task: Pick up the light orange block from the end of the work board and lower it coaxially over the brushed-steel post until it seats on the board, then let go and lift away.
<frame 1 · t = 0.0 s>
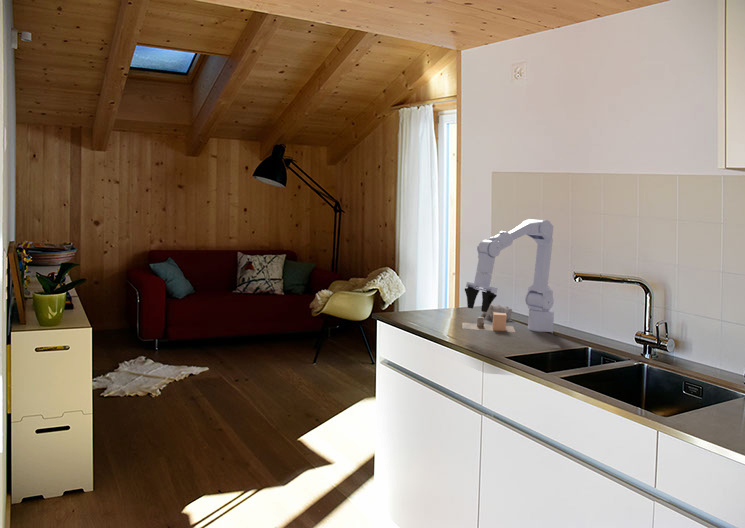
hand: (477, 309, 233), 11 cm above the counter, fingers open, 7 cm apart
board: (488, 329, 250), on the counter
stone: (495, 321, 271), on the counter
light orange block: (498, 329, 248), point 1 cm above the counter, touching board
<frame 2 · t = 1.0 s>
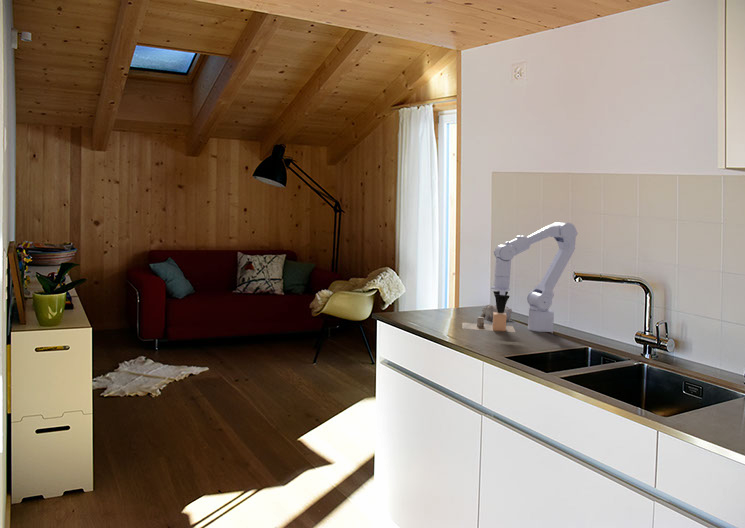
hand: (500, 311, 247), 8 cm above the counter, fingers open, 7 cm apart
nothing on the counter moved.
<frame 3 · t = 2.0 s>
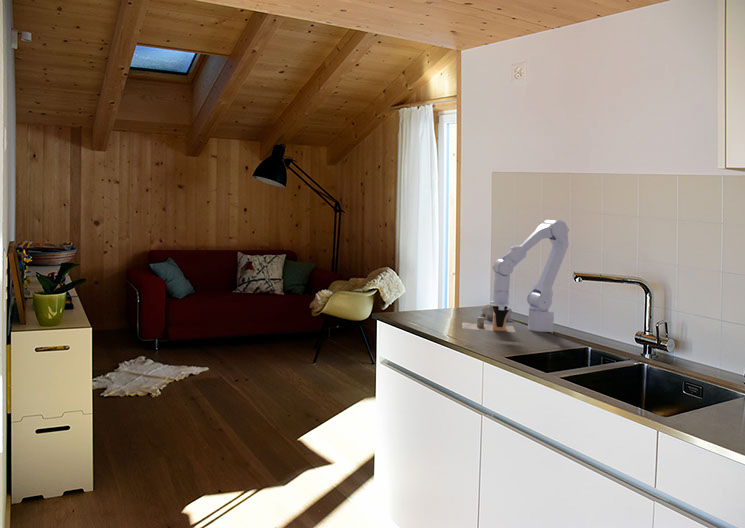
hand: (499, 325, 248), 2 cm above the counter, fingers closed on light orange block, 5 cm apart
light orange block: (498, 329, 248), point 1 cm above the counter, touching board, gripper
everything else where it was.
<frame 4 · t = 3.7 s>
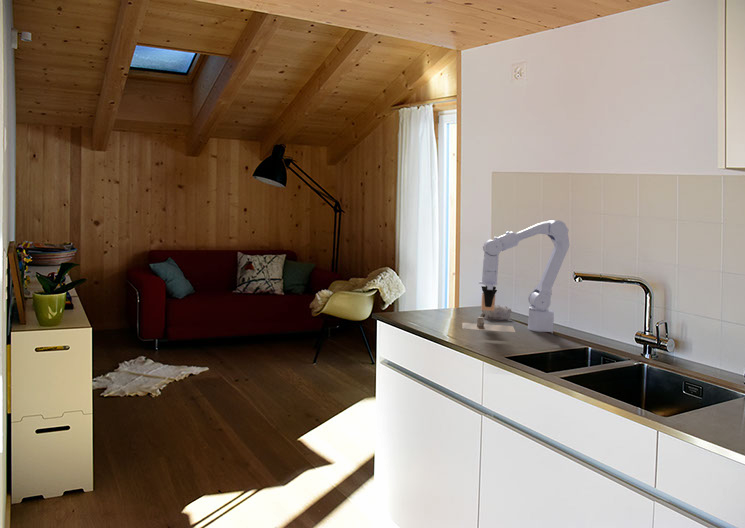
hand: (487, 305, 249), 10 cm above the counter, fingers closed on light orange block, 5 cm apart
light orange block: (487, 309, 249), point 8 cm above the counter, touching gripper
everything else where it was.
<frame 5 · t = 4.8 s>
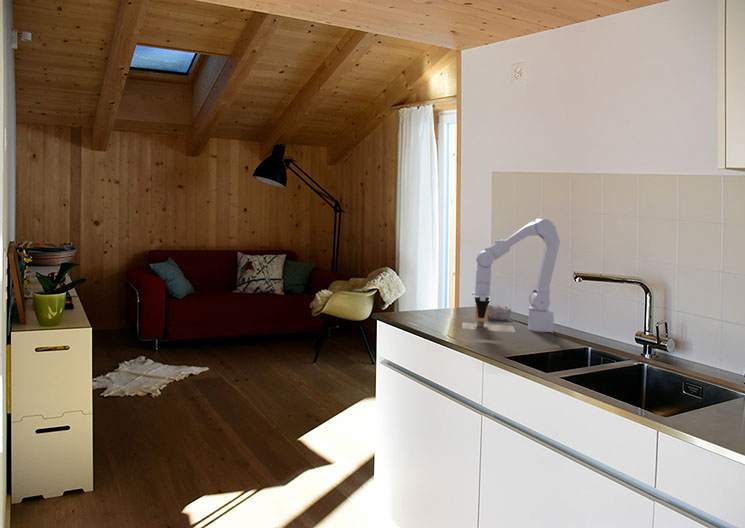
hand: (480, 316, 251), 5 cm above the counter, fingers closed on light orange block, 5 cm apart
light orange block: (480, 320, 251), point 3 cm above the counter, touching gripper
everything else where it was.
when the fingers open (3 cm above the counter, at t = 5.6 s): light orange block stays where it is, resting on board.
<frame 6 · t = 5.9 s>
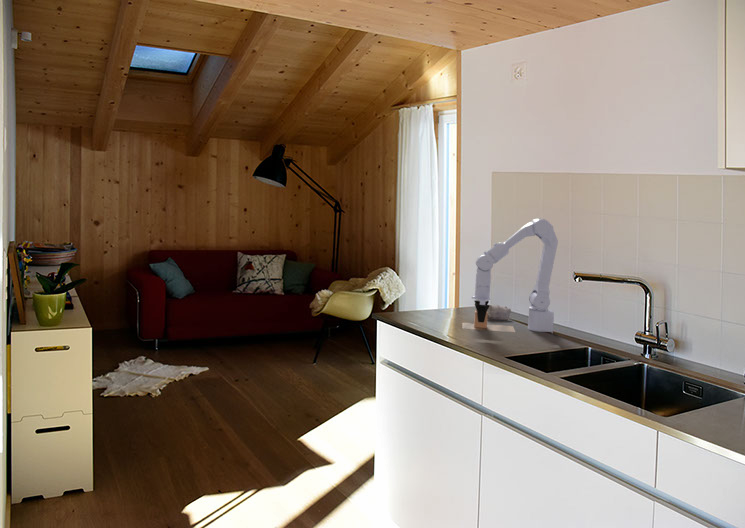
hand: (480, 320, 251), 3 cm above the counter, fingers open, 7 cm apart
light orange block: (480, 326, 252), point 1 cm above the counter, touching board
everything else where it was.
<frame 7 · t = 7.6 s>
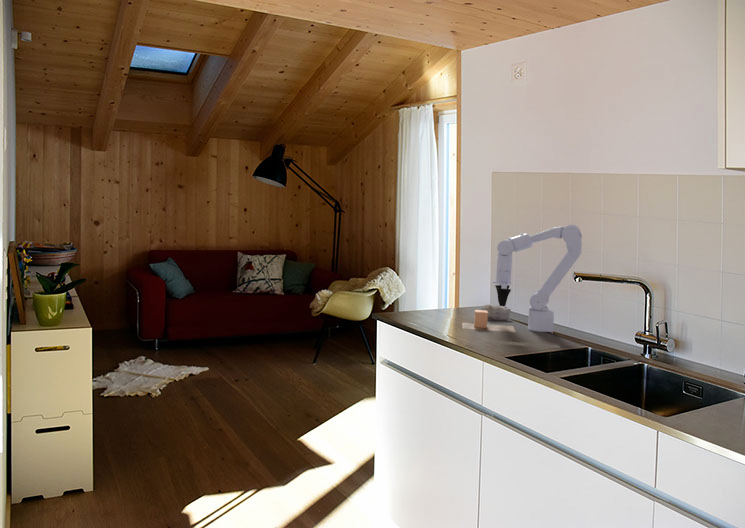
hand: (501, 304, 255), 9 cm above the counter, fingers open, 7 cm apart
nothing on the counter moved.
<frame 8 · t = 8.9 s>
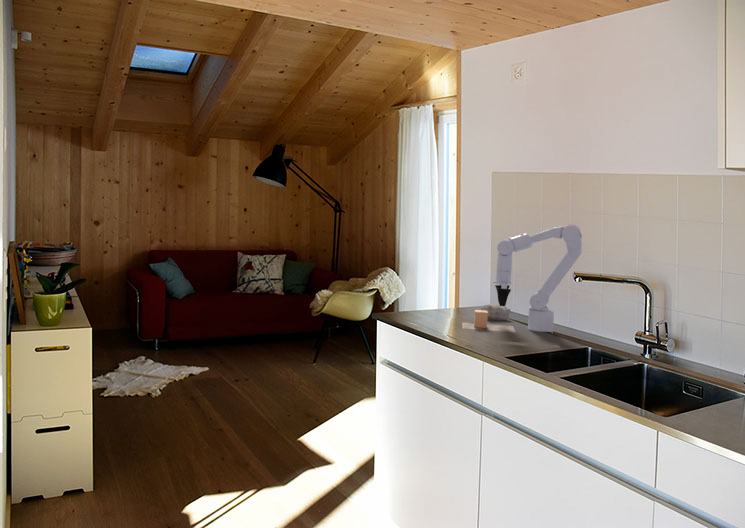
hand: (501, 304, 255), 9 cm above the counter, fingers open, 7 cm apart
nothing on the counter moved.
at the end: light orange block 0.0 cm from the target spot on the board, point 1.0 cm above the board's base; light orange block tilted 0°; the gripper is holding nothing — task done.
